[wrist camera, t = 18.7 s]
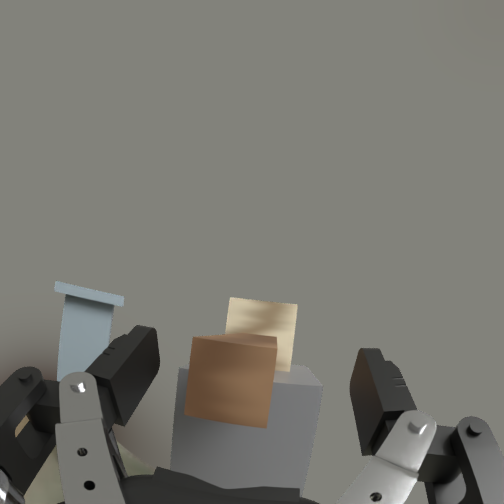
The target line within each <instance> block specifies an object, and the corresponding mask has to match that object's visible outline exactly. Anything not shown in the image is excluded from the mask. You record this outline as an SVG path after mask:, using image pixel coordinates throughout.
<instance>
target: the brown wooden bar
mask: <svg viewBox="0 0 504 504" xmlns="http://www.w3.org/2000/svg"><path fill="white" fill-rule="evenodd" d="M297 306H298V305H296V304H286V303H275V302H266V301H258V300H249V299H241V298H232V297H230V302H229V309H228V317H227V324H226V332H225V334H224V335H212V336H200V337H193V341H192V348H191V356H190V364H189V373H188V382H187V391H186V401H185V411H184V415H188V416H192V417H197V418H202V419H207V420H212V421H217V422H223V423H229V424H236V425H242V426H249V427H257V428H266V429H267V422H268V416H269V409H270V402H271V395H272V388H273V380H274V373H275V370H276V371H286V372H290V366H291V358H292V350H293V342H294V333H295V325H296V315H297Z"/></svg>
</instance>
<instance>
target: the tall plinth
mask: <svg viewBox="0 0 504 504" xmlns="http://www.w3.org/2000/svg"><path fill="white" fill-rule="evenodd" d="M54 291H57V292H61V293H65V294H66V297H65V303H64V310H63V317H62V326H61V334H60V345H59V357H58V373H57V381H61V379H62V378H63V377H65V376H66V375H68V374H70V373H73V372H84V371H85V370H86V369H87V368H88V367H89V366H90V365H91V364H92V363H93V362H94V360H95V359H96V358H97V357H98V356H99V355H100V354H102V352H103V351H104V350H105V349H106V348H108V346H109V342H110V333H111V325H112V318H113V311H114V305H118V306H123V302H124V296H119V295H114V294H110V293H105V292H101V291H96V290H92V289H88V288H83V287H79V286H75V285H71V284H67V283H62V282H59V281H56V283H55V289H54Z"/></svg>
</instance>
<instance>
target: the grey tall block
mask: <svg viewBox="0 0 504 504" xmlns="http://www.w3.org/2000/svg"><path fill="white" fill-rule="evenodd" d="M188 373H189V364H188V365H185V366H182V367H179V373H178V382H177V392H176V402H175V413H174V424H173V437H172V451H171V468H170V470H171V471H175V472H180V473H184V474H188V475H191V476H194V477H196V478H198V479H201V480H203V481H205V482H208V483H210V484H213V485H215V486H218V487H220V488H224V489H236V488H250V487H260V486H268V487H283V488H300V497H302V493H303V489H304V484H305V480H306V476H307V471H308V467H309V462H310V458H311V453H312V448H313V443H314V438H315V432H316V427H317V421H318V415H319V410H320V403H321V397H322V391H323V386H322V384H321V383H320V382H319V381H318V380H317V378H316V377H315V376H314V375H313V374H312V372H311V371H310V370H309V369H308V367H307V366H303V365H291V366H290V372H286V371H276V370H275V373H274V380H273V388H272V395H271V402H270V409H269V416H268V422H267V429H266V428H257V427H249V426H242V425H236V424H229V423H223V422H217V421H212V420H207V419H202V418H197V417H192V416H188V415H184V411H185V401H186V391H187V382H188Z"/></svg>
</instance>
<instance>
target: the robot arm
mask: <svg viewBox="0 0 504 504" xmlns="http://www.w3.org/2000/svg"><path fill="white" fill-rule="evenodd" d="M159 366H160V356H159V349H158V341H157V332H156V330H155V328H151V327H146V326H140V325H137V326H135V327H134V328H133V329H132V331H131V332H130V333H129V334H128V335H125V334H124V335H122V336H120V337H118V338H116V339H114V340H113V341H112V342H111V343H110V344H109V346H108V348H106V349H105V350H104V351H103V352H102V354H100V355H99V356H98V357H97V358H96V359H95V360H94V362H93V363H92V364H91V365H90V366H89V367H88V368H87V369H86V370H85V371H84V372H73V373H70V374H68V375H66V376H65V377H63V378H62V379H61V381H51V380H44V379H43V376H42V374H41V372H40V370H39V369H37V368H35V367H23V368H20V369H18V370H16V371H15V372H14V373H13V374H12V375H11V376H10V377H9V378H8V379H7V380H6V381H5V382H4V383H3V384H2V385H1V386H0V504H25V499H24V494H25V493H26V491H27V489H28V488H29V486H30V484H31V483H32V481H33V480H34V478H35V476H36V475H37V473H38V472H39V470H40V468H41V467H42V465H43V464H44V462H45V461H46V459H47V458H48V456H49V454H50V453H51V451H52V450H53V448H54V447H55V445H57V455H58V463H59V470H60V477H61V483H62V489H63V495H64V500H65V501H64V502H61V503H58V504H319V503H317V502H315V501H312V500H309V499H306V498H302V497H300V488H283V487H268V486H260V487H250V488H236V489H224V488H220V487H218V486H215V485H213V484H210V483H208V482H205V481H203V480H201V479H198V478H196V477H194V476H191V475H188V474H184V473H180V472H175V471H171V470H168V469H164V468H160V467H157V468H156V470H155V473H154V475H135V476H130V477H128V475H127V473H126V470H125V468H124V465H123V462H122V458H121V455H120V452H119V449H118V445H117V442H116V439H115V435H114V432H113V429H112V426H113V424H114V423H115V424H118V425H121V426H125V425H126V423H127V422H128V420H129V419H130V417H131V415H132V414H133V412H134V410H135V409H136V407H137V406H138V404H139V402H140V401H141V399H142V397H143V396H144V394H145V393H146V391H147V389H148V388H149V386H150V384H151V383H152V381H153V379H154V378H155V376H156V375H157V373H158V370H159ZM350 396H351V401H352V406H353V411H354V415H355V420H356V425H357V431H358V436H359V441H360V446H361V452H362V456H366V455H372V456H373V457H372V458H371V459H370V461H369V462H368V463H367V465H366V466H365V467H364V469H363V470H362V472H361V473H360V474H359V475H358V477H357V478H356V479H355V481H354V482H353V483H352V484H351V486H350V487H349V488H348V489H347V491H346V492H345V493H344V494H343V495H342V496H341V498H340V499H339V500H338V501H337V502H336V503H335V504H404V502H405V500H406V498H407V497H408V495H409V493H410V491H411V489H412V488H413V486H414V484H415V482H416V481H422V482H424V483H425V488H426V492H427V498H428V502H429V504H504V457H503V455H502V453H501V451H500V448H499V446H498V444H497V442H496V440H495V438H494V436H493V434H492V432H491V430H490V428H489V426H488V425H487V423H486V422H485V421H483V420H482V419H480V418H477V417H472V416H470V417H465V418H463V419H462V420H461V421H460V422H459V424H458V425H457V427H446V426H439V425H436V422H435V420H434V419H433V418H432V417H431V416H430V415H429V414H427V413H425V412H422V411H418V410H417V408H416V406H415V404H414V401H413V399H412V397H411V394H410V392H409V390H408V387H407V386H406V383H405V381H404V379H403V376H402V374H401V372H400V370H399V368H398V367H397V366H395V365H394V364H393V363H392V362H391V361H385V360H384V358H383V355H382V353H381V351H380V349H378V348H361V349H360V350H359V352H358V356H357V359H356V363H355V366H354V370H353V373H352V377H351V381H350ZM25 415H27V417H28V419H29V422H28V423H27V424H26V425H25V427H24V428H23V429H22V431H21V432H20V433H19V434H18V436H17V437H15V429H16V427H17V425H18V424H19V423H20V422H21V420H22V419H23V418H24V417H25ZM462 475H463V476H462ZM463 478H464V479H463ZM465 485H466V486H465Z"/></svg>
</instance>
